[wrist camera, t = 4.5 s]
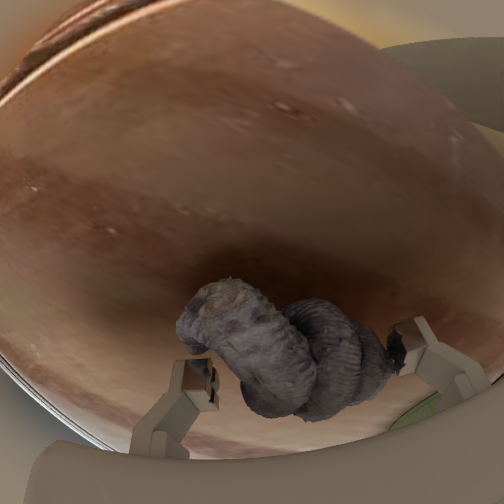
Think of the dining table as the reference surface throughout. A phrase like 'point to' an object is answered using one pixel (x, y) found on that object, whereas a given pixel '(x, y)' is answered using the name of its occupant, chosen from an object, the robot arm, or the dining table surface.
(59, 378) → the dining table surface
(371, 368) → the seashell
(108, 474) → the robot arm
